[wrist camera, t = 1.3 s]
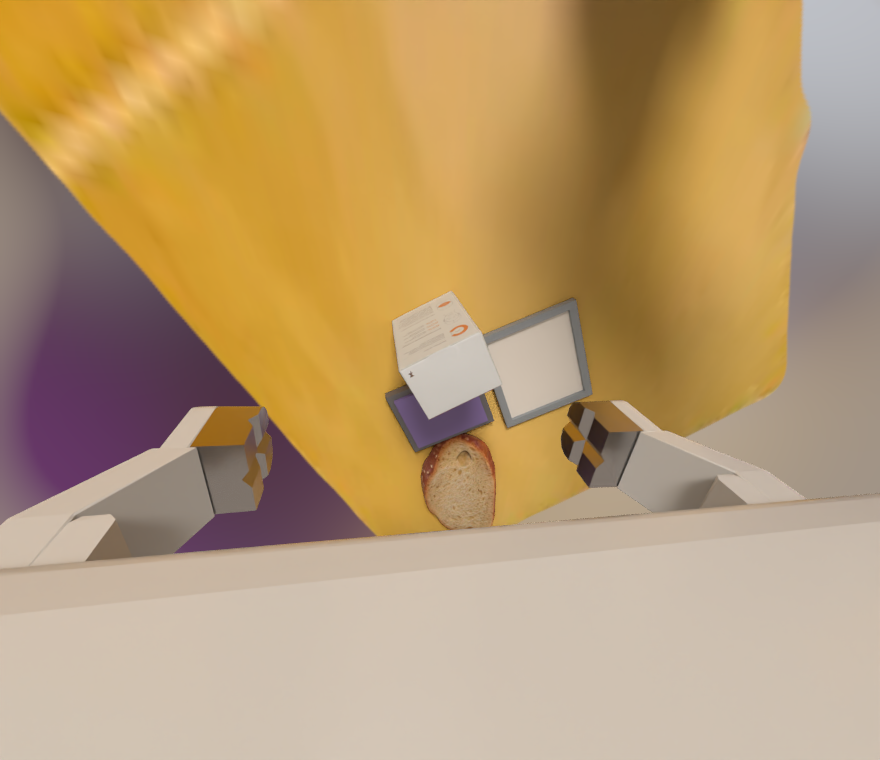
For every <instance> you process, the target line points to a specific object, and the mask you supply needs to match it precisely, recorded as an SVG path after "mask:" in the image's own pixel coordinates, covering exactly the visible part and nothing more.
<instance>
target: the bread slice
mask: <svg viewBox="0 0 880 760" xmlns="http://www.w3.org/2000/svg"><path fill="white" fill-rule="evenodd" d="M421 484H422V488H423V493H424V498H425V502H426V505H427V507H428V509H429V511H430V512H431V513H433V514H434V515H436V516H437V517H438V519H439V521H440V523H441V524H442V525H444V526H445V527H447V528H448V529H451V530H458V529H469V528H481V527H491V526H492V524H493V520H494V516H495V515H494V512H495V495H496V479H495V465H494V462H493V460H492V456H491V453H490V451H489V448H488V447H487V445H486V444H485V443H484V442H483V441H482V440H480V439H479V438H477V437H475V436H473V435H469V434H465V433H462V434H460V435H457V436H455V437H452V438H450V439H447V440H445V441H442V442H440V443H437V444H435V445H434V447H433V449H432V451H431V453H430V454H429V456H428V457H427V458H426V460H425V462H424V464H423V467H422V473H421Z"/></svg>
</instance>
